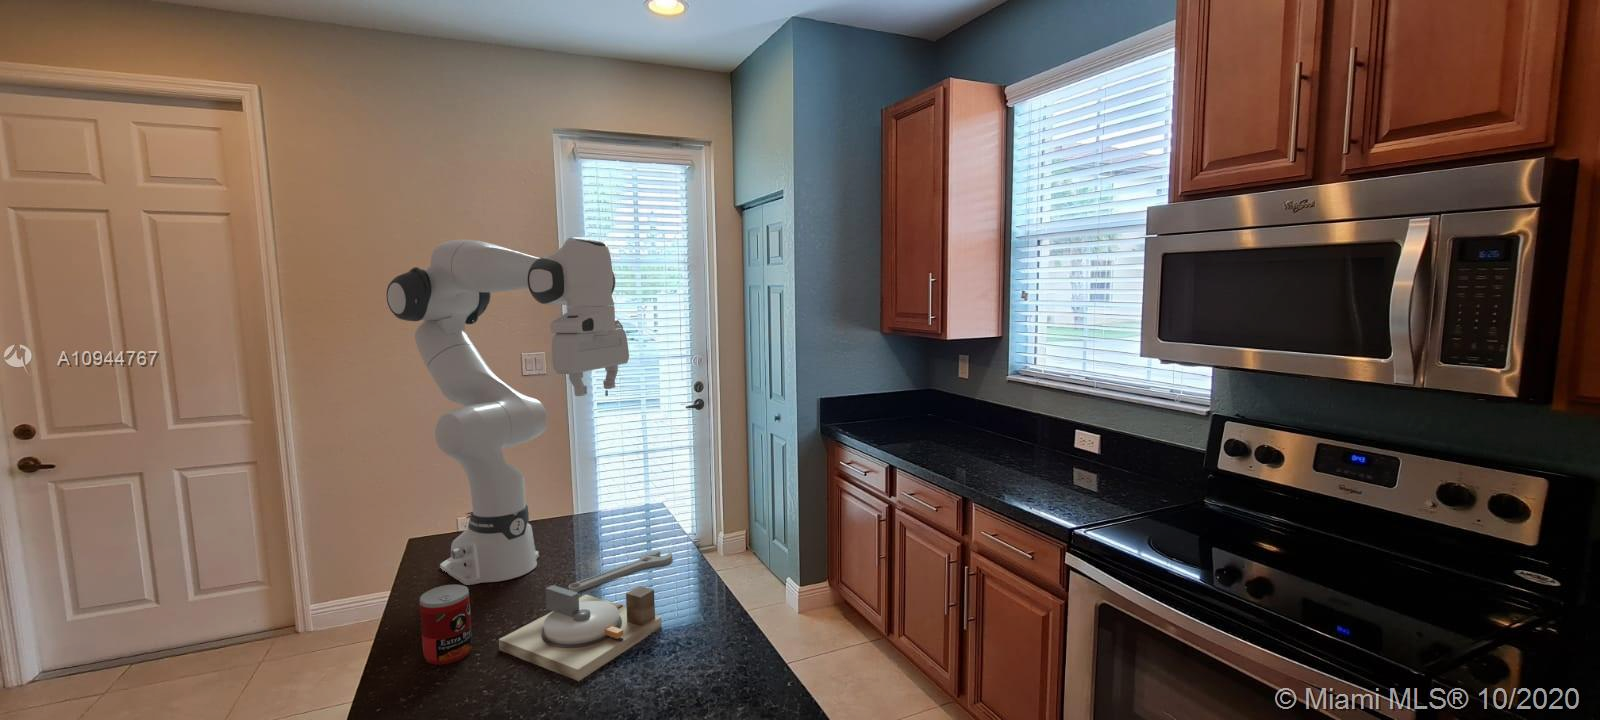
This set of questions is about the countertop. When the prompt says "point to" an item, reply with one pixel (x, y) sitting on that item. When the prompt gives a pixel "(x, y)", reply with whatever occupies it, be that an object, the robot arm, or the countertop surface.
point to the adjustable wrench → (622, 570)
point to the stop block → (640, 605)
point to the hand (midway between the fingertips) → (595, 392)
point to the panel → (574, 645)
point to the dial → (578, 618)
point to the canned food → (446, 624)
